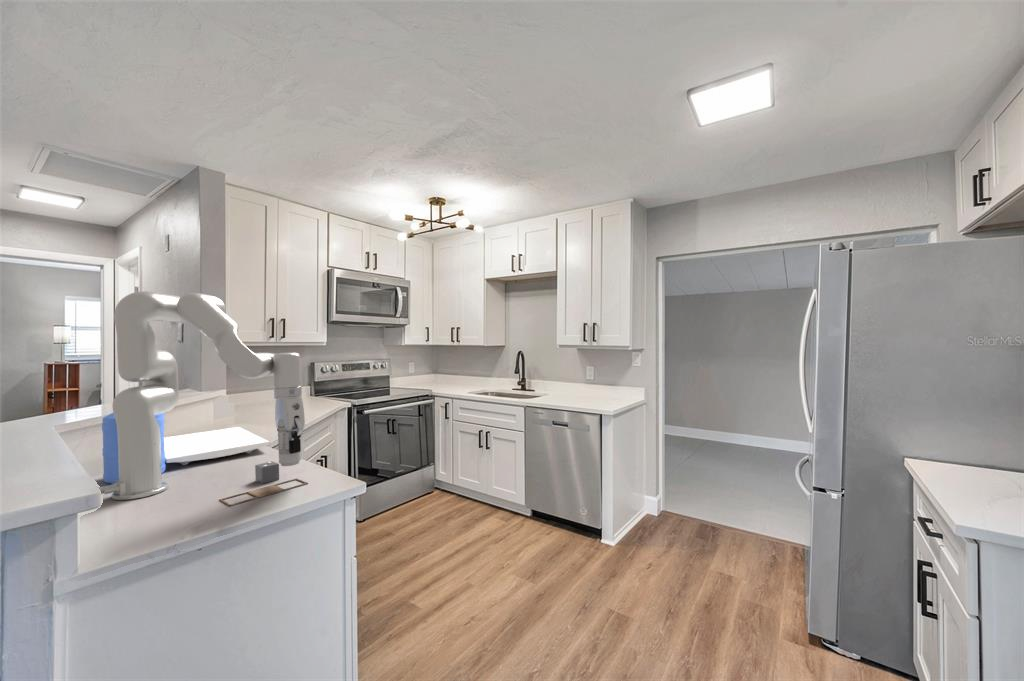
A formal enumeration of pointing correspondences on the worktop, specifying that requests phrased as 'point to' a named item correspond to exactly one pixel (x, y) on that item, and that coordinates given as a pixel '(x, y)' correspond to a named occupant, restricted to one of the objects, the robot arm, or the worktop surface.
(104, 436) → the water jug
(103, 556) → the worktop surface
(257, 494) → the board
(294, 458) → the energy drink can
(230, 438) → the board
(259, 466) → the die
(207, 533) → the worktop surface
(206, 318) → the robot arm
